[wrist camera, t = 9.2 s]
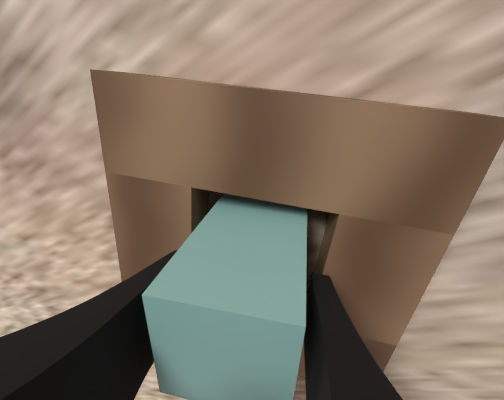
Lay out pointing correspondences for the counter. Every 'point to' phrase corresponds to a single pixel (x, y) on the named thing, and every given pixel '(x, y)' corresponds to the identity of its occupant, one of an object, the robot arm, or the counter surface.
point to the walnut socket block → (296, 179)
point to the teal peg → (232, 304)
